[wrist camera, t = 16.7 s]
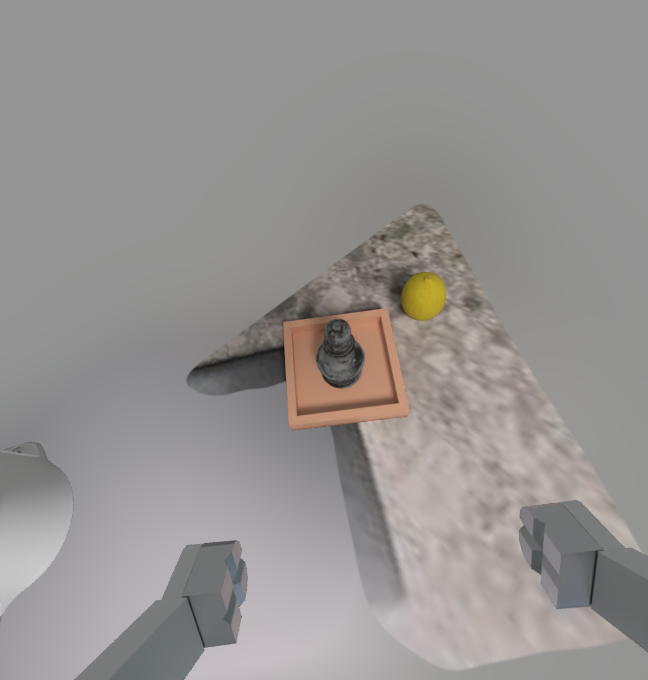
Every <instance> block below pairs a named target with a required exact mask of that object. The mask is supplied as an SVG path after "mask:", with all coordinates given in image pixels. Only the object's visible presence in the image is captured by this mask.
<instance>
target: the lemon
mask: <svg viewBox="0 0 648 680" xmlns="http://www.w3.org/2000/svg"><path fill="white" fill-rule="evenodd" d="M445 300H446V288H445V284H444V282H443V281H442V279H441V278H440V277H439V276H437V275H436V274H434V273H431V272H420V273H417V274H415V275H413V276H412V277H411V278H410V279H409V280H408V281H407V283H406V284H405V286H404V288H403V291H402V294H401V304H402V307H403V310H404V311H405V313H406V314H407V315H408V316H410V317H411V318H413V319H415V320H421V321H423V320H429V319H431V318H433V317H435V316H436V315H437V314H438V313H439V312H440V311H441V310H442V308H443V306H444V303H445Z"/></svg>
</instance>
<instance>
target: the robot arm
mask: <svg viewBox="0 0 648 680" xmlns="http://www.w3.org/2000/svg"><path fill="white" fill-rule="evenodd" d="M72 514H73V493H72V489H71V485H70V483H69V481H68V479H67V477H66V475H65V474H64V473H63V472H62V471H61V470H60V469H59V468H58V467H56V466H55V465H53V464H52V463H51V462H50V461H49V460H48V459H47V456H46V454H45V451H44V449H43V447H42V446H41V445H40V444H39V443H34V442H28V443H24V444H21V445H18V446H15V447H12V448H8V449H5V450H0V617H1V615H2V614H3V613H4V611H5V610H6V609H7V607H8V606H9V604H10V603H11V601H12V600H13V599H14V598H15V597H16V596H17V595H18V594H19V593H21V592H22V591H23V590H25V589H26V588H27V587H28V586H30V585H31V584H32V583H33V582H34V581H36V580H37V579H38V578H39V577H40V576H41V575H42V574H43V573H44V571H45V570H46V569H47V568H48V567H49V566H50V564H51V563H52V562H53V560H54V559H55V557H56V556H57V554H58V552H59V550H60V549H61V547H62V545H63V543H64V541H65V538H66V536H67V534H68V531H69V528H70V524H71V520H72ZM520 519H521V521H522V522H523V524H524V526H523V527H522V528H521V529H520V530H519V541H520V545H521V549H522V552H523V554H524V556H525V559H526V561H527V562H528V564H529V566H530V567H531V569H533V570H534V571H536V572H537V573H539V574H540V575H541V585H542V587H543V588H544V590H545V591H546V593H547V594H548V596H549V598H550V599H551V601H552V602H553V604H554V606H555V607H556V609H563V608H577V607H590V606H591V609H593V610H594V611H595V612H597V613H598V614H599V615H600V616H602V617H603V618H604V619H606V620H607V621H608V622H609V623H611V624H612V625H613V626H615V627H616V628H617V629H618V630H620V631H621V632H622V633H624V634H625V635H626V636H627V637H629V638H630V639H631V640H633V641H634V642H635V643H636V644H638V645H639V646H640V647H642V648H643V649H644V650H645V651H647V652H648V556H647V555H645V554H643V553H641V552H639V551H637V550H635V549H633V548H625V547H624V546H623V545H622V544H621V543H620V542H619V541H618V540H617V539H616V538H615V537H614V536H613V535H612V534H611V533H610V532H609V531H608V530H607V529H606V528H605V527H604V526H603V525H602V524H601V522H600V521H599V520H598V519H597V518H596V517H595V516H594V515H593V514H592V513H591V512H590V511H589V510H588V509H587V508H586V507H585V506H584V505H583V504H582V503H581V502H579V501H577V500H573V501H565V502H558V503H550V504H542V505H534V506H526V507H522V508H521V510H520ZM241 552H242V549H241V545H240V542H239V541H237V540H236V541H224V542H212V543H204V544H194V545H187V546H186V547H185V548H184V549H183V551H182V553H181V555H180V558H179V560H178V562H177V565H176V567H175V569H174V572H173V574H172V576H171V579H170V581H169V584H168V586H167V588H166V590H165V592H164V595H163V597H162V600H157V601H155V602H154V603H153V604H152V605H151V606H150V607H149V608H148V609H147V610H146V611H145V612H144V613H143V614H142V615H141V616H140V617H139V618H138V619H137V620H136V621H134V622H133V623H132V624H131V625H130V626H129V627H128V628H127V629H126V630H125V631H124V632H123V633H122V634H121V635H120V636H119V637H118V638H117V639H116V640H115V641H114V642H113V643H112V644H111V645H110V646H109V647H108V648H107V649H106V650H105V651H103V652H102V653H101V654H100V655H99V656H98V657H97V658H96V659H95V660H94V661H93V662H92V663H91V664H90V665H89V666H88V667H87V668H86V669H85V670H84V671H83V672H82V673H81V674H80V675H79V676H78V677H77V678H76V679H74V680H184V679H185V678H186V676H187V675H188V673H189V672H190V670H191V669H192V667H193V666H194V665H195V663H196V662H197V660H198V659H199V657H200V656H201V654H202V653H203V652H204V648H206V647H214V646H220V645H227V644H234V643H236V642H237V636H238V632H239V627H240V622H241V618H242V616H241V612H240V609H239V607H240V605H241V604H242V603H243V602H244V601H245V597H246V591H247V579H248V576H247V568H246V564H245V562H244V561H243V560H242V559H241V558H240V556H241Z"/></svg>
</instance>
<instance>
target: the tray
mask: <svg viewBox="0 0 648 680" xmlns="http://www.w3.org/2000/svg"><path fill="white" fill-rule="evenodd" d="M333 319H343V320H345V321H346V322H347V323H348V324H349V325H350V328H351V334H352V335H353V337H354V339H355V341H357V342H358V343H359V344H360V345H361V347H362V348H363V351H364V354H365V362H364V366H363V368H362V374H361V377H360V379H359V380H358V381H357V382H356V383H355V384H354V385H352V386H351V387H348V388H342V389H339V388H334V387H332V386H330V385H329V384H328V383H326V382H325V380H324V379H323V377H322V373H321V372H320V370H319V369H318V367H317V364H316V354H317V351H318V349H319V347H320V346H321V345H322V342H323V339H324V328H325V326H326V324H327V323H328V322H329V321H331V320H333ZM283 331H284V348H285V366H286V383H287V401H288V418H289V426H290V428H291V429H292V430H301V429H309V428H317V427H326V426H334V425H342V424H350V423H358V422H366V421H374V420H382V419H390V418H398V417H406V416H407V415H408V413H409V411H410V410H409V406H408V401H407V397H406V392H405V388H404V383H403V379H402V374H401V369H400V365H399V360H398V356H397V351H396V347H395V342H394V338H393V333H392V329H391V324H390V319H389V315H388V310H387V308H385V309H378V310H370V311H362V312H355V313H347V314H340V315H332V316H325V317H317V318H310V319H302V320H295V321H287V322H283Z"/></svg>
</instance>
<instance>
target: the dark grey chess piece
mask: <svg viewBox="0 0 648 680" xmlns="http://www.w3.org/2000/svg"><path fill="white" fill-rule="evenodd" d="M364 362H365V354H364V351H363V348H362V347H361V345H360V344H359V343H358V342H357V341H355V339H354V337H353V335H352V334H351V328H350V325H349V324H348V323H347V322H346V321H345V320H343V319H333V320H331V321H329V322H328V323H327V324H326V326H325V328H324V339H323V342H322V345H321V346H320V347H319V349H318V351H317V354H316V364H317V367H318V369H319V370H320V372H321V373H322V377H323V379H324V380H325V382H326V383H328V384H329V385H330V386H332V387H334V388H339V389H342V388H348V387H351V386H352V385H354V384H355V383H356V382H357V381H358V380H359V379H360V377H361V374H362V368H363V366H364Z"/></svg>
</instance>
